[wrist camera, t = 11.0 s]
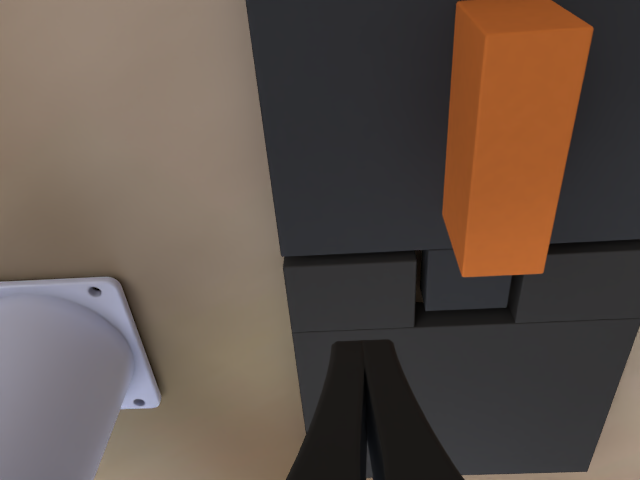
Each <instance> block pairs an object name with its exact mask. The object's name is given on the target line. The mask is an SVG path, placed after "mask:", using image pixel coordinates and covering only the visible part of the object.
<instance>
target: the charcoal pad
mask: <svg viewBox="0 0 640 480" xmlns="http://www.w3.org/2000/svg"><path fill="white" fill-rule="evenodd" d="M246 7H247V14H248V21H249V28H250V36H251V43H252V50H253V57H254V64H255V71H256V79H257V86H258V93H259V100H260V107H261V115H262V122H263V129H264V136H265V143H266V150H267V158H268V165H269V172H270V179H271V186H272V193H273V201H274V208H275V215H276V222H277V229H278V237H279V244H280V251H281V256H282V257H287V256H308V255H328V254H348V253H368V252H389V251H409V250H422V258H421V281H420V288H421V293H422V298H423V302H424V307H425V310H426V311H437V310H460V309H483V308H506V307H507V303H508V297H509V291H510V285H511V279H512V275H523V274H542V273H543V272H544V268H545V263H546V258H547V253H548V248H549V244H551V243H571V242H591V241H612V240H632V239H640V0H246Z"/></svg>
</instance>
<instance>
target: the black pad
mask: <svg viewBox="0 0 640 480" xmlns="http://www.w3.org/2000/svg"><path fill="white" fill-rule="evenodd" d="M283 271H284V278H285V285H286V293H287V300H288V307H289V314H290V321H291V329H292V336H293V343H294V350H295V358H296V365H297V372H298V379H299V386H300V394H301V401H302V408H303V415H304V422H305V430H306V434H307V431H308V429H309V426H310V424H311V421H312V419H313V416H314V413H315V410H316V407H317V404H318V401H319V398H320V395H321V392H322V389H323V386H324V382H325V379H326V375H327V371H328V366H329V361H330V356H331V346H332V344H334V343H335V342H336V341H357V340H381V339H389V340H391V341H392V342H393V343H394V347H395V350H396V353H397V356H398V359H399V362H400V364H401V367H402V369H403V372H404V374H405V377H406V379H407V381H408V383H409V385H410V388H411V390H412V392H413V394H414V396H415V398H416V400H417V402H418V404H419V406H420V407H421V409H422V411H423V413H424V415H425V417H426V419H427V421H428V422H429V424H430V426H431V428H432V429H433V431H434V433H435V435H436V436H437V438H438V440H439V441H440V443H441V445H442V446H443V448H444V449H445V451H446V453H447V454H448V456H449V457H450V459H451V461H452V462H453V464H454V465H455V467H456V468H457V470H458V471H459V473H460V474H461V475H485V474H521V473H557V472H587V471H588V468H589V465H590V462H591V459H592V457H593V454H594V451H595V448H596V446H597V443H598V440H599V437H600V434H601V432H602V429H603V426H604V423H605V421H606V418H607V415H608V412H609V409H610V407H611V404H612V401H613V398H614V396H615V393H616V390H617V387H618V384H619V382H620V379H621V376H622V373H623V371H624V368H625V365H626V362H627V359H628V357H629V354H630V351H631V348H632V346H633V343H634V340H635V337H636V334H637V332H638V329H639V326H640V239H632V240H612V241H591V242H571V243H551V244H549V248H548V253H547V258H546V263H545V268H544V272H543V273H542V274H523V275H512V279H511V285H510V291H509V297H508V303H507V307H506V308H483V309H460V310H437V311H426V310H425V307H424V303H415V297H416V271H417V260H416V255H415V250H409V251H389V252H368V253H348V254H328V255H308V256H287V257H284V264H283ZM366 478H373V475H372V469H371V462H370V456H369V449H368V443H367V465H366Z"/></svg>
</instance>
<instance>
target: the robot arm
mask: <svg viewBox="0 0 640 480" xmlns="http://www.w3.org/2000/svg"><path fill="white" fill-rule="evenodd" d="M93 287H96V288H98V289H100V291H99V290H96V289H94V288H93ZM160 401H161V394H160V391H159V388H158V386H157V383H156V380H155V377H154V375H153V372H152V369H151V366H150V363H149V361H148V358H147V355H146V352H145V350H144V347H143V344H142V341H141V339H140V336H139V333H138V330H137V327H136V325H135V322H134V319H133V316H132V314H131V311H130V308H129V305H128V302H127V300H126V297H125V294H124V291H123V289H122V286H121V284H120V282H119V281H117V280H116V279H114V278H112V277H87V278H66V279H45V280H24V281H3V282H0V480H94V477H95V475H96V472H97V469H98V467H99V464H100V461H101V459H102V456H103V454H104V451H105V448H106V446H107V443H108V440H109V438H110V435H111V432H112V430H113V427H114V424H115V422H116V419H117V417H118V414H119V411H120V409H139V408H155V407H157V406H159V404H160ZM367 443H368V449H369V456H370V462H371V469H372V475H373V480H464V478H463V477H462V476H461V474H460V473H459V471H458V470H457V468H456V467H455V465H454V464H453V462H452V461H451V459H450V457H449V456H448V454H447V453H446V451H445V449H444V448H443V446H442V445H441V443H440V441H439V440H438V438H437V436H436V435H435V433H434V431H433V429H432V428H431V426H430V424H429V422H428V421H427V419H426V417H425V415H424V413H423V411H422V409H421V407H420V406H419V404H418V402H417V400H416V398H415V396H414V394H413V392H412V390H411V388H410V385H409V383H408V381H407V379H406V377H405V374H404V372H403V369H402V367H401V364H400V362H399V359H398V356H397V353H396V350H395V347H394V343H393V342H392V341H391V340H389V339H381V340H357V341H336V342H335V343H334V344H332V346H331V356H330V361H329V366H328V371H327V375H326V379H325V382H324V386H323V389H322V392H321V395H320V398H319V401H318V404H317V407H316V410H315V413H314V416H313V419H312V421H311V424H310V426H309V429H308V431H307V434H306V436H305V439H304V441H303V443H302V446H301V448H300V451H299V453H298V455H297V457H296V460H295V462H294V464H293V466H292V468H291V470H290V472H289V474H288V476H287V478H286V480H366V465H367Z"/></svg>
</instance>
